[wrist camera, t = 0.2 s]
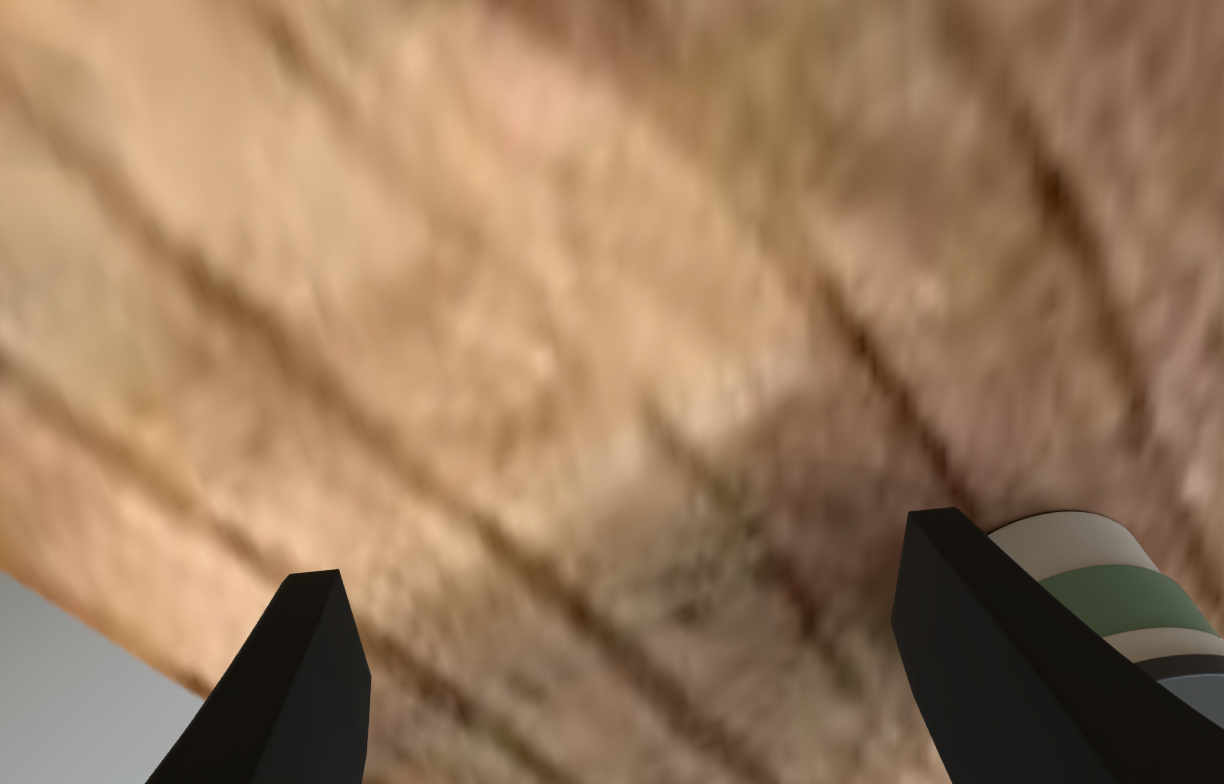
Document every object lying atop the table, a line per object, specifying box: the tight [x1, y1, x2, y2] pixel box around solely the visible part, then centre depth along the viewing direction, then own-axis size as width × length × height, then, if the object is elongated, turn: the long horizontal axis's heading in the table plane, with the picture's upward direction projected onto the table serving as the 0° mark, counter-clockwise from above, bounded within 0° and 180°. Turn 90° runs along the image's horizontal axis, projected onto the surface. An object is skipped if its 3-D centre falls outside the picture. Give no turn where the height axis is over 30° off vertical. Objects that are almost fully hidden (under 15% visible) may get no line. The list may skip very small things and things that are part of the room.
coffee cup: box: [987, 511, 1224, 729], centre depth 26 cm, size 7×7×6 cm
